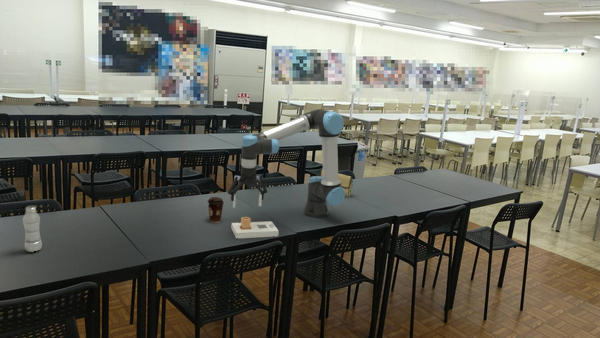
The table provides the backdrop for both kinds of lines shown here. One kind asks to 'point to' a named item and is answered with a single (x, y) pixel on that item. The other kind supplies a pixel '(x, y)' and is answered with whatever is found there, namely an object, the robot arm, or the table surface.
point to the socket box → (255, 230)
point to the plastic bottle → (32, 229)
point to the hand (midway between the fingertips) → (247, 206)
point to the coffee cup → (215, 209)
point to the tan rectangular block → (245, 223)
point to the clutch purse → (343, 182)
